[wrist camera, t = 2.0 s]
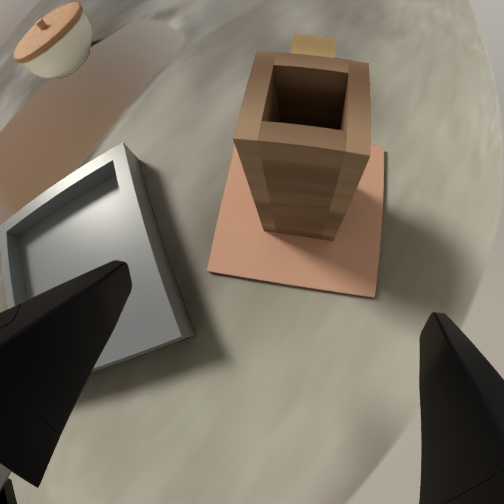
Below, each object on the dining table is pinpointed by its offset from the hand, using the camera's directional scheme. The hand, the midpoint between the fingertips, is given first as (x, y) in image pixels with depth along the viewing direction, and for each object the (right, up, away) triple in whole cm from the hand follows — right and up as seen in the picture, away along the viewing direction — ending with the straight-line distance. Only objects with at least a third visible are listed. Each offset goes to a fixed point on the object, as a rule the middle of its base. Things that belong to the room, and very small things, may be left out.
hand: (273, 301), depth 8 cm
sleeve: (+3, +5, +14) cm, 15 cm away
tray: (-15, -1, +16) cm, 22 cm away
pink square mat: (+3, +5, +15) cm, 16 cm away
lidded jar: (-26, +28, +24) cm, 45 cm away
